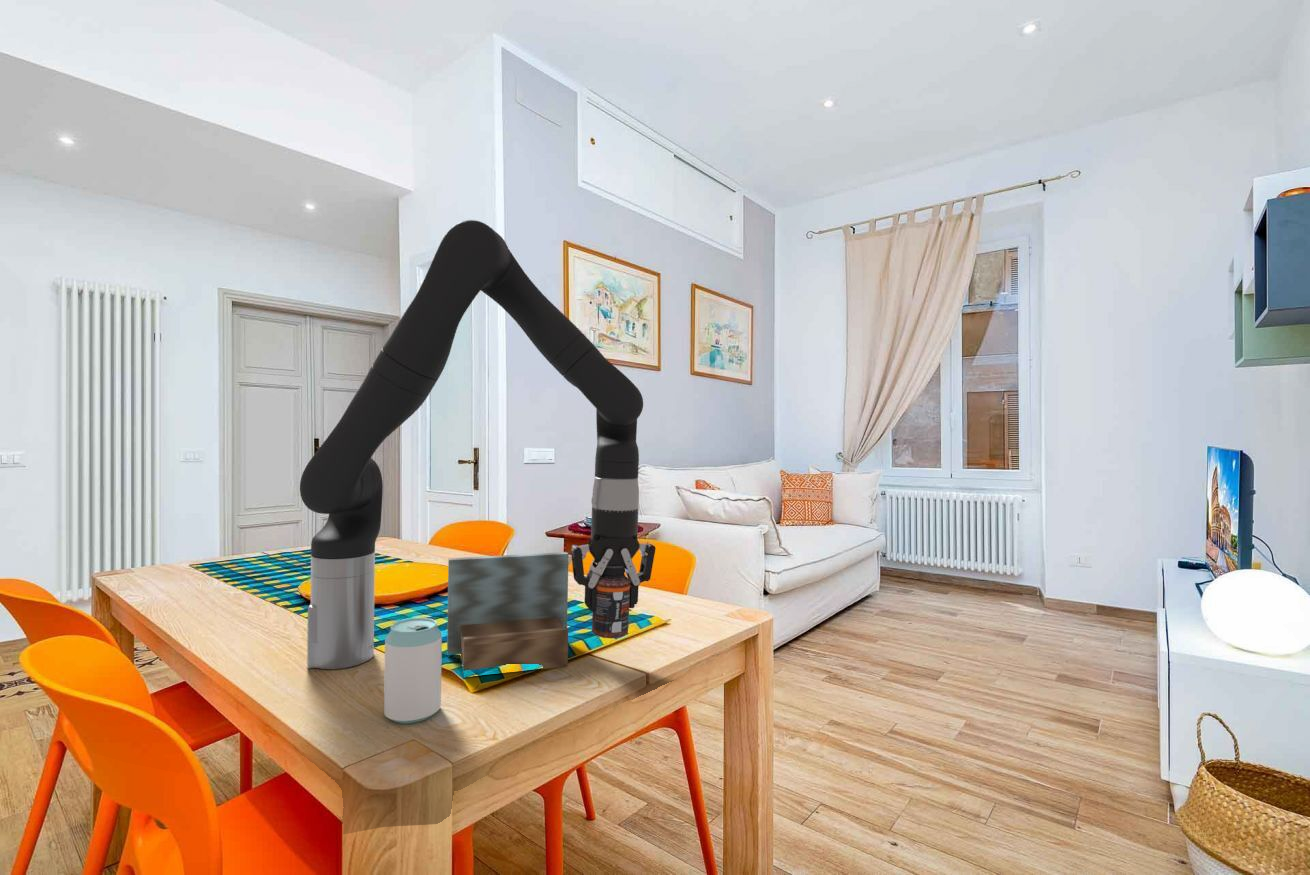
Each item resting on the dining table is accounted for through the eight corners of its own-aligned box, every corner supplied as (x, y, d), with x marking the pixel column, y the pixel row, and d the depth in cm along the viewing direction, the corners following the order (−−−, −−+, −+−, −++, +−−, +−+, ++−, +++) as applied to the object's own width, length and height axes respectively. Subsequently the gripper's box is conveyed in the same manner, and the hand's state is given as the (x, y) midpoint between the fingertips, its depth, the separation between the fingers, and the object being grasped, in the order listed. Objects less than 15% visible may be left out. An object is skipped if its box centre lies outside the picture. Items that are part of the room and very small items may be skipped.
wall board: (449, 680, 93) (451, 574, 93) (447, 653, 104) (448, 558, 103) (579, 664, 100) (581, 566, 100) (564, 641, 111) (566, 552, 110)
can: (445, 700, 87) (447, 615, 86) (434, 725, 80) (435, 632, 79) (393, 702, 86) (394, 616, 85) (376, 727, 79) (377, 633, 78)
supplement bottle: (627, 640, 98) (630, 569, 97) (589, 639, 98) (592, 567, 98) (629, 628, 104) (632, 560, 103) (593, 626, 104) (596, 559, 103)
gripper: (577, 509, 94) (573, 619, 95) (665, 508, 99) (660, 612, 100) (566, 502, 101) (562, 604, 102) (649, 501, 106) (645, 598, 107)
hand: (611, 607), depth 101 cm, fingers closed on supplement bottle, 6 cm apart
